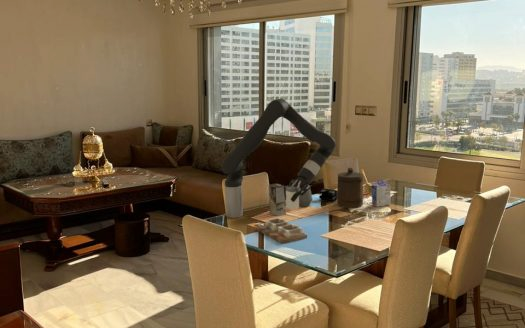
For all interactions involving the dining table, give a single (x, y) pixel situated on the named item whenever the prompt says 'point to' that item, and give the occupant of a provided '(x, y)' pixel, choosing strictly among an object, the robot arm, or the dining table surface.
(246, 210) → the dining table surface
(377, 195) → the ink cartridge box
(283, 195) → the coffee box
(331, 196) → the end cap
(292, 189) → the plug
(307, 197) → the cup
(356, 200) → the wooden container
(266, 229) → the socket board
